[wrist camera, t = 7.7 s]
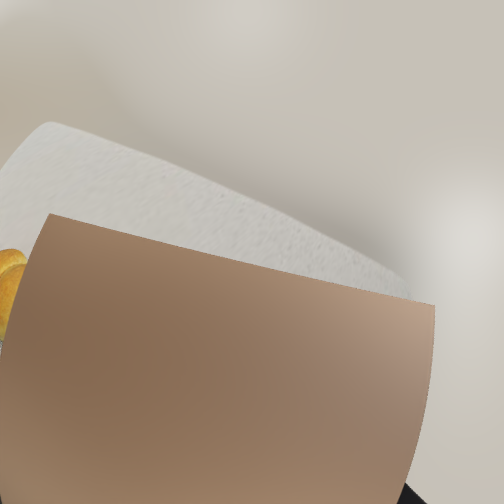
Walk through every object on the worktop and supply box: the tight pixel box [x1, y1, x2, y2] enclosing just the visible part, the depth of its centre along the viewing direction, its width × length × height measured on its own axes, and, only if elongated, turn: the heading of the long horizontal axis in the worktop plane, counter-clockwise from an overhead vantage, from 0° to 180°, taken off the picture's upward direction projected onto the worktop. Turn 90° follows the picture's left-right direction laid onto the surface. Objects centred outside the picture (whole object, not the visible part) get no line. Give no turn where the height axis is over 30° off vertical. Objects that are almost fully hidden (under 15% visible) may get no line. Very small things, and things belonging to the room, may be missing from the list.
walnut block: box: [0, 214, 435, 504], centre depth 7 cm, size 5×5×12 cm
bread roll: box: [0, 249, 28, 341], centre depth 16 cm, size 8×9×4 cm
